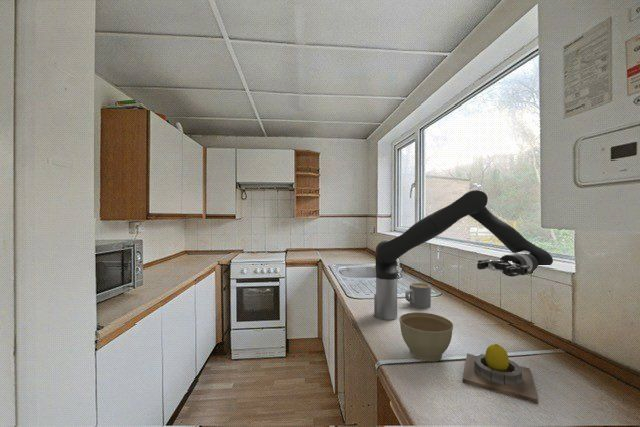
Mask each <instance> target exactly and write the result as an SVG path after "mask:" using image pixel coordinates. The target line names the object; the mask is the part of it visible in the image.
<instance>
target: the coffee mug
mask: <svg viewBox="0 0 640 427" xmlns="http://www.w3.org/2000/svg"><path fill="white" fill-rule="evenodd" d="M431 291H432V287H431V284H428V283H423V282H410V284H409V289H407V290H406V291H405V295H404V296H405V300H406V301H407V302H408V303H409V306H411V307H413V308H417V309H429V308H431V307H432V300H431V299H432V298H431V297H432V292H431Z"/></svg>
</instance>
